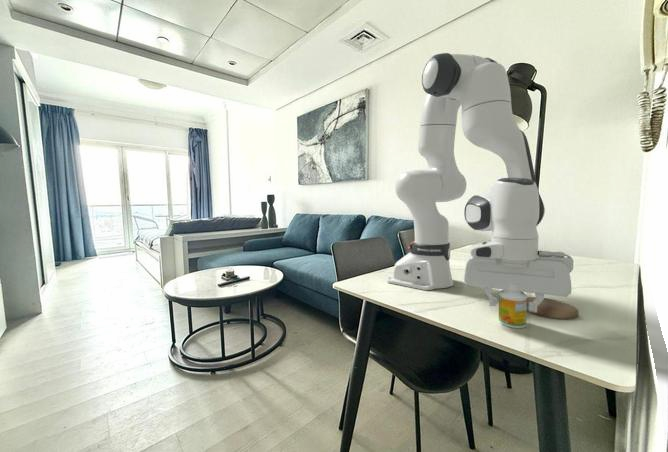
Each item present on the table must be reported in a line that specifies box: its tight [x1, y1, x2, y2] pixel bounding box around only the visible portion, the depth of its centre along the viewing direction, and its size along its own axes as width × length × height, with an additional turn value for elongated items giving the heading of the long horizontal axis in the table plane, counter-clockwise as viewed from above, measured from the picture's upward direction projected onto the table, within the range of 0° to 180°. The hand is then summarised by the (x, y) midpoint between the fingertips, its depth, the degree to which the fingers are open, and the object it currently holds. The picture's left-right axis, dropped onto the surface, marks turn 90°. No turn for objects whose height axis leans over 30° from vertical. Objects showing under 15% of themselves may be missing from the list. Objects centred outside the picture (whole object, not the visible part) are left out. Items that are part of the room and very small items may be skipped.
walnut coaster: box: [527, 296, 580, 320], centre depth 70 cm, size 12×12×1 cm
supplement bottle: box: [498, 285, 528, 329], centre depth 63 cm, size 5×5×10 cm
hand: (512, 308), depth 63 cm, fingers open, 6 cm apart
